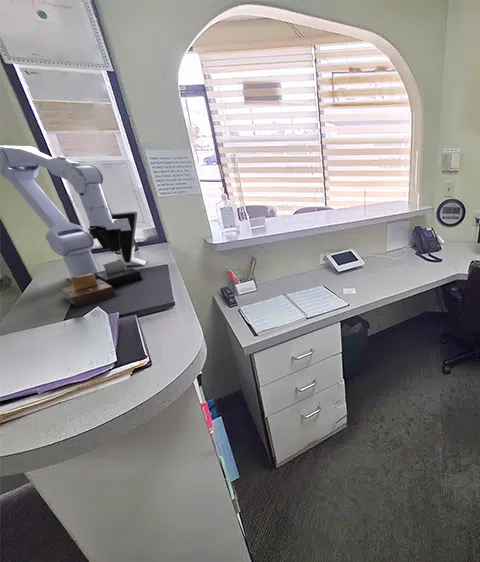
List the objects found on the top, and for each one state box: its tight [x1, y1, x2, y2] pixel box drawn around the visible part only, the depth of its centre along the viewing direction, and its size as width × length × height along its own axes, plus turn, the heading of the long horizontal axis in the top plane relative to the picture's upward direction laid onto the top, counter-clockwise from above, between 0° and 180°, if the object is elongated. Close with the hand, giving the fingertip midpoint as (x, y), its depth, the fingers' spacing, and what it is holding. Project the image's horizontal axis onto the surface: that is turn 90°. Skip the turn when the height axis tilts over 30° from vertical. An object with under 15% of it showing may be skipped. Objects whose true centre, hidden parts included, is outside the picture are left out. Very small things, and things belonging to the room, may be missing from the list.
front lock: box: [69, 273, 98, 291], centre depth 89 cm, size 5×1×4 cm, turn 146°
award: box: [88, 186, 147, 266], centre depth 113 cm, size 15×5×30 cm, turn 117°
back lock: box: [102, 258, 126, 274], centre depth 102 cm, size 5×1×4 cm, turn 145°
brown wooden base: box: [60, 279, 117, 308], centre depth 91 cm, size 12×9×3 cm
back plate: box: [94, 265, 143, 288], centre depth 103 cm, size 12×9×3 cm
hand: (111, 249), depth 101 cm, fingers open, 7 cm apart
